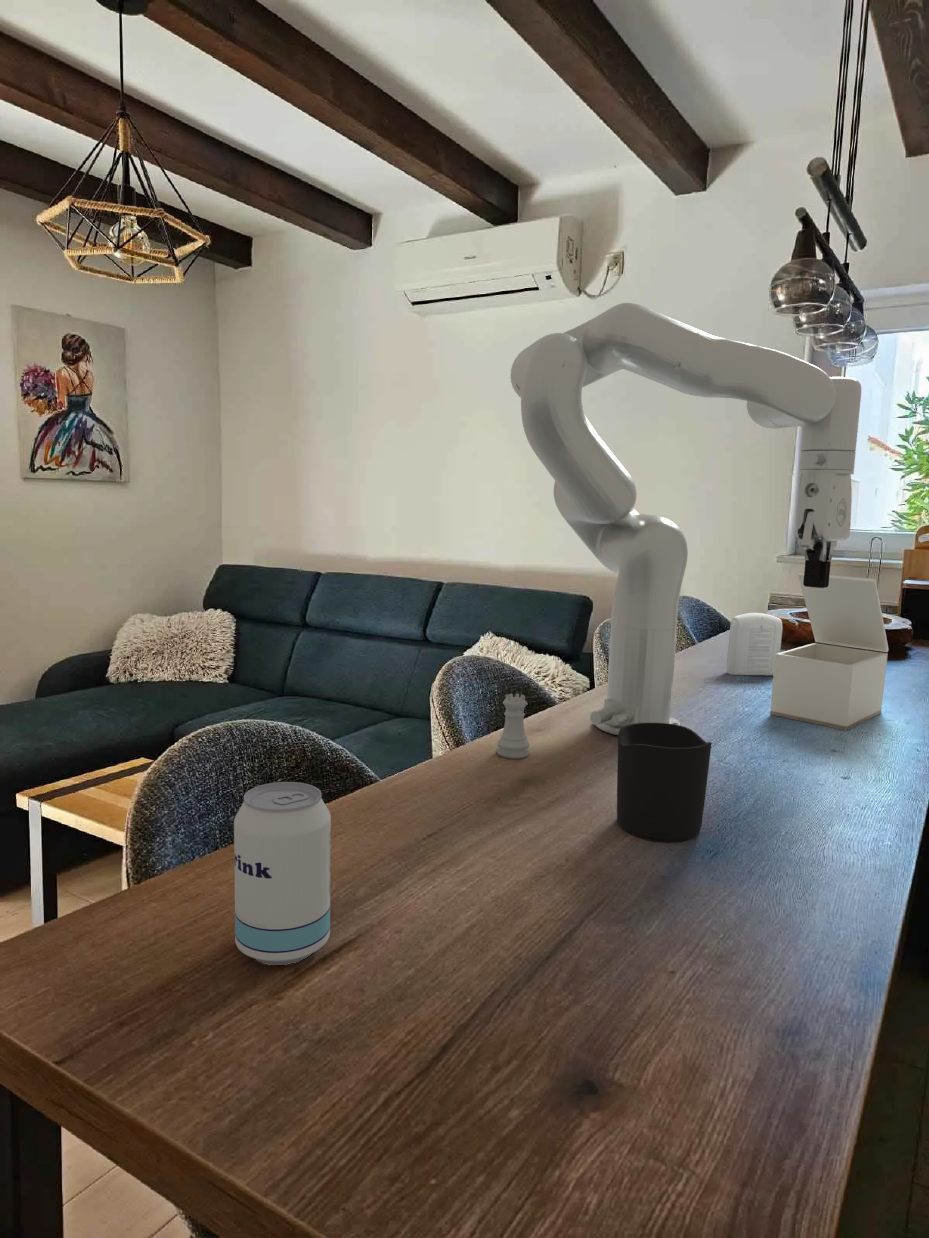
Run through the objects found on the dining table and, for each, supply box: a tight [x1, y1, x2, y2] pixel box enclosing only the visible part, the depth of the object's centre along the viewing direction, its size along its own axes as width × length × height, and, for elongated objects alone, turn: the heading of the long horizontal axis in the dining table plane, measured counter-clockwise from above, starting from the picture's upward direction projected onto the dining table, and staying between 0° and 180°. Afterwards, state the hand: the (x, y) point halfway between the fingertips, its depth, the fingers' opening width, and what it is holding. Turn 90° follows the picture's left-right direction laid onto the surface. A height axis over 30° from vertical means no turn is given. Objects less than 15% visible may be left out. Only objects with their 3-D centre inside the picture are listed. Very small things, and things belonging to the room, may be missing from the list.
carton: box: [770, 642, 889, 731], centre depth 137 cm, size 16×12×10 cm
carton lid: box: [797, 572, 889, 653], centre depth 137 cm, size 16×12×1 cm
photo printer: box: [726, 612, 784, 677], centre depth 166 cm, size 10×4×12 cm, turn 98°
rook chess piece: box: [495, 693, 531, 760], centre depth 110 cm, size 4×4×8 cm
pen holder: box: [616, 723, 713, 843], centre depth 87 cm, size 9×9×10 cm
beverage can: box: [233, 781, 332, 965], centre depth 62 cm, size 7×7×12 cm
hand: (815, 586), depth 127 cm, fingers closed
